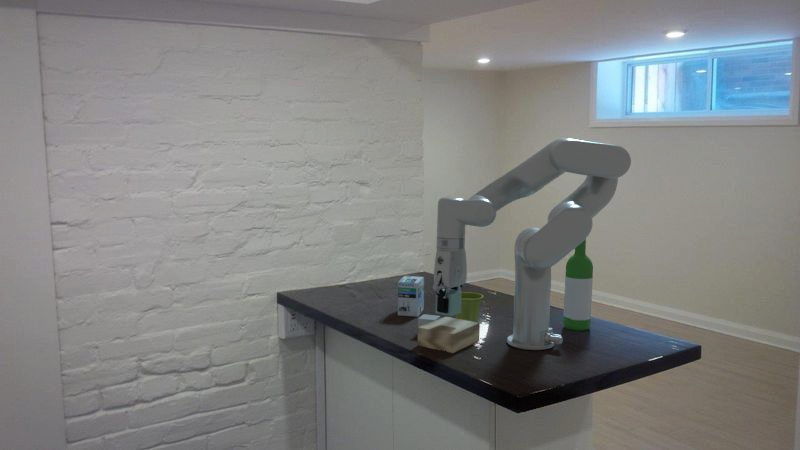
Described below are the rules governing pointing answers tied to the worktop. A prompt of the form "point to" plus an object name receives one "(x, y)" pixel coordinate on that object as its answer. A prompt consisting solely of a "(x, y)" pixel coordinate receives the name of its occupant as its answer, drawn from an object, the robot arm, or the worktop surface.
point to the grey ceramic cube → (427, 319)
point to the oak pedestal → (448, 334)
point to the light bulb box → (410, 296)
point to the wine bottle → (578, 290)
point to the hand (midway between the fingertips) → (448, 309)
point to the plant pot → (470, 306)
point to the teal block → (452, 303)
